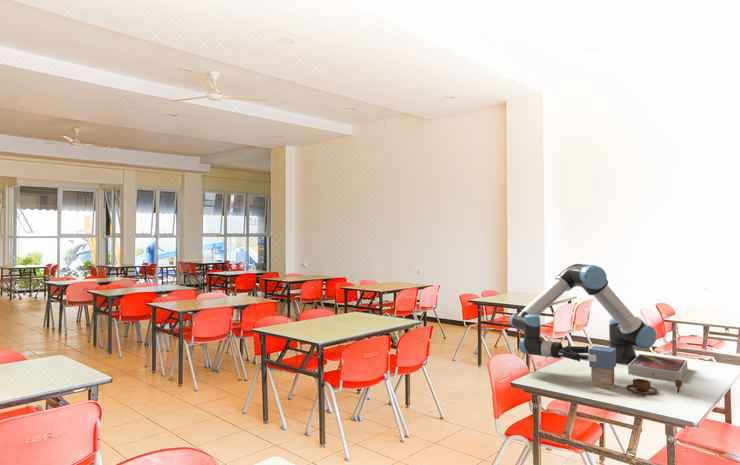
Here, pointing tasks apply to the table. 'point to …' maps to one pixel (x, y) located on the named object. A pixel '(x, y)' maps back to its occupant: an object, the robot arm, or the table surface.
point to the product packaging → (658, 367)
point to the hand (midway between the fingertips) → (599, 355)
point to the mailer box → (602, 377)
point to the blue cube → (603, 357)
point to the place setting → (647, 387)
